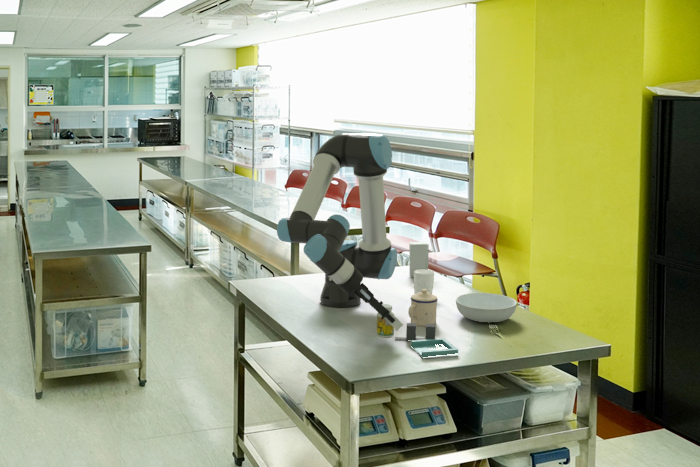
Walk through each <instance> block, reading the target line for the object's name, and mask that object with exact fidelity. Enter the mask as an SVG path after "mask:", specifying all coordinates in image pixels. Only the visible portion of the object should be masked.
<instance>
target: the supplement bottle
mask: <svg viewBox="0 0 700 467" xmlns="http://www.w3.org/2000/svg"><path fill="white" fill-rule="evenodd" d="M382 305H383V306H384V307H385V308H386V309H387V310H389V311H390V312H391V313H392V314H393V315H394V316H395V313H394V312H393V305H392V304H390V303H389V304H387V303H385V304H384V303H383V304H382ZM381 317H382V315H381V314H379V313H378V312H377V314H376V336H377V337H379V338H382V339H389V338H393V337H394V336H395V328H394V327H392V326H391V325H390V324H389V323H388V322H387V321H386V320H385V319H384V318H383V319H381Z"/></svg>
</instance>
